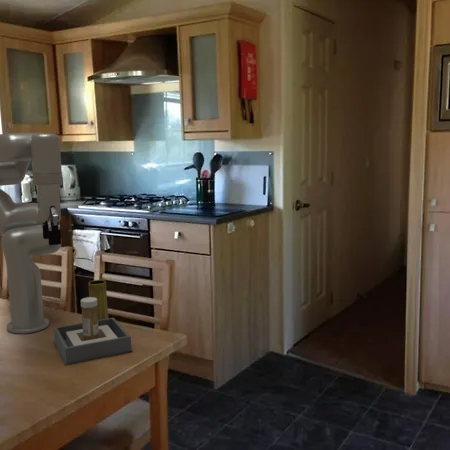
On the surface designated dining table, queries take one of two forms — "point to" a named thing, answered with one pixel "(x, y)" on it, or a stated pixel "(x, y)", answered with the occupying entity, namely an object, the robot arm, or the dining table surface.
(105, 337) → the block
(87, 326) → the sprinkles bottle
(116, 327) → the open box
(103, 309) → the vase
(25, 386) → the dining table surface
